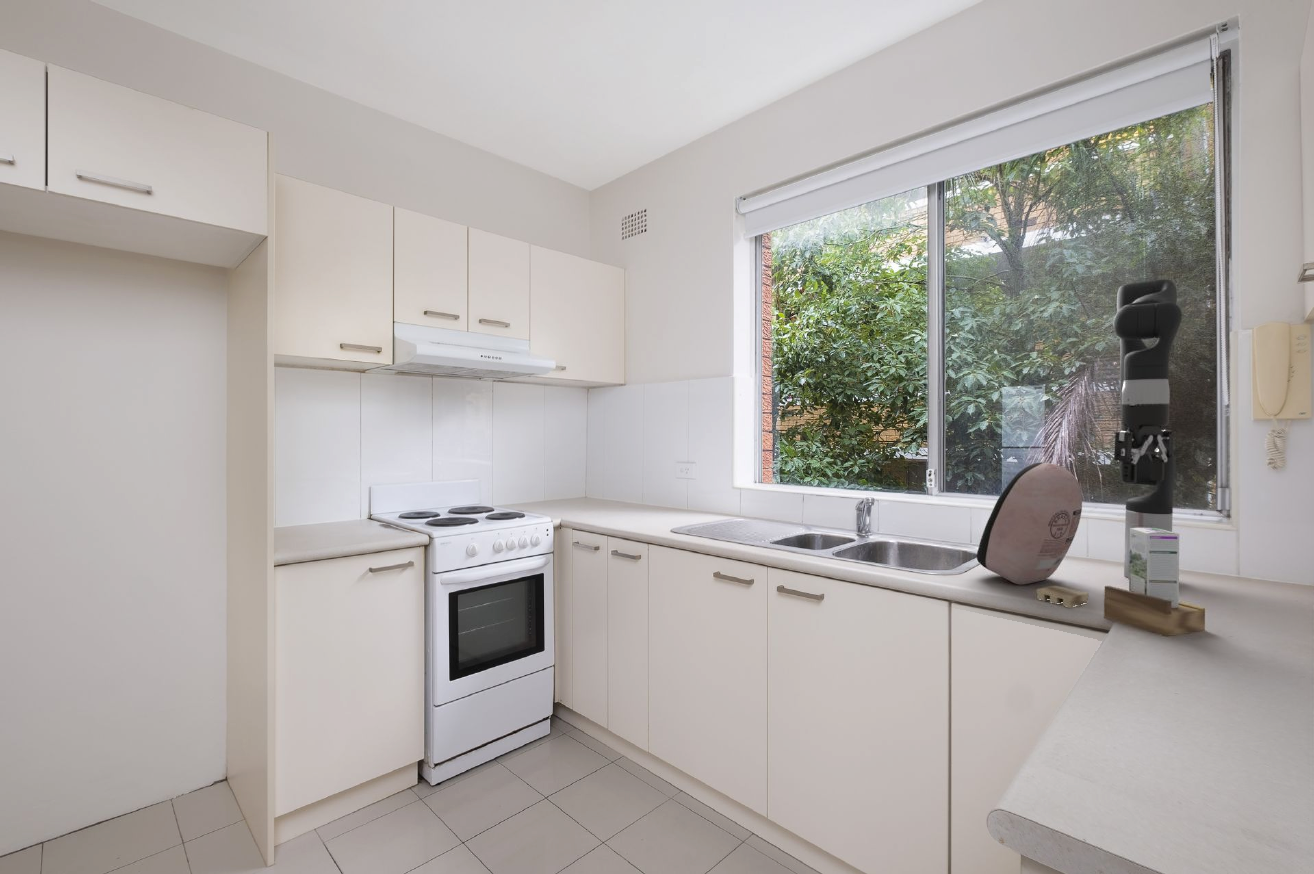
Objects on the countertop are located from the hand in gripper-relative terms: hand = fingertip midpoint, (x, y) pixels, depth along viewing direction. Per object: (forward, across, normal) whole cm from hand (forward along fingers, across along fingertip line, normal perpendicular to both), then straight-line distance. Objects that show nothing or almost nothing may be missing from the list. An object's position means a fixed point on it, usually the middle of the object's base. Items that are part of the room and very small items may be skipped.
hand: (1143, 481), depth 120 cm
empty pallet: (+27, +8, -11) cm, 31 cm away
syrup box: (+24, +5, +5) cm, 25 cm away
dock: (+27, +5, +5) cm, 28 cm away
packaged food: (+28, -1, -26) cm, 38 cm away
